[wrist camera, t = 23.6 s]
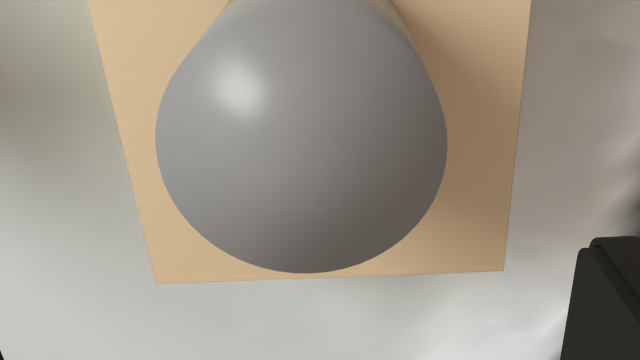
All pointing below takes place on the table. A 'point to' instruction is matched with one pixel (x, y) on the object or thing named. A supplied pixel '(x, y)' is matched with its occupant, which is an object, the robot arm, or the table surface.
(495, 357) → the table surface
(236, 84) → the grey rounded blob
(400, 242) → the box lid
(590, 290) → the robot arm
